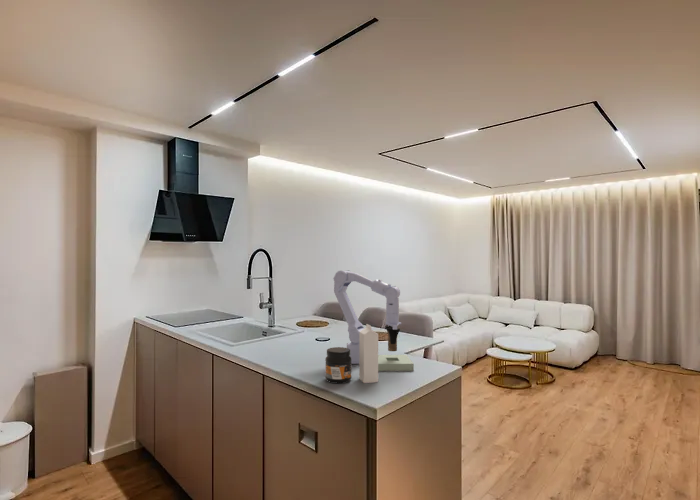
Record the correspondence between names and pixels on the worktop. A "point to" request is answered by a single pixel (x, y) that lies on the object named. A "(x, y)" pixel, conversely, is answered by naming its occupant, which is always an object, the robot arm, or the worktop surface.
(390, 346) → the peg
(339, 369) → the supplement container
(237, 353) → the worktop surface
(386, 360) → the socket block
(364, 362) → the milk
